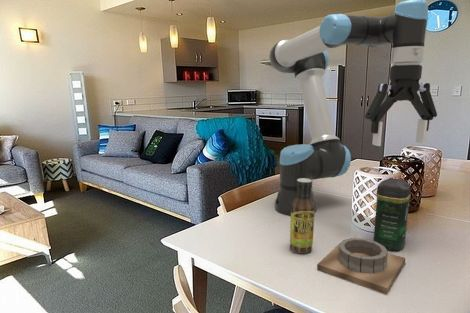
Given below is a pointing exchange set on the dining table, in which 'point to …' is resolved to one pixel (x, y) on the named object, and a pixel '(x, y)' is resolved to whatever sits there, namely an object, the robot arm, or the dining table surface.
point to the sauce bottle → (302, 218)
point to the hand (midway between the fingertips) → (398, 144)
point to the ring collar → (363, 264)
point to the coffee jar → (392, 213)
